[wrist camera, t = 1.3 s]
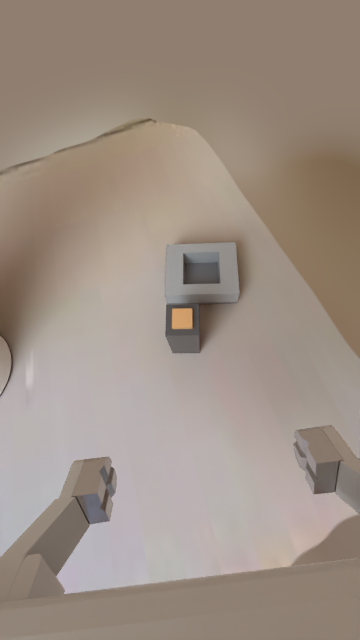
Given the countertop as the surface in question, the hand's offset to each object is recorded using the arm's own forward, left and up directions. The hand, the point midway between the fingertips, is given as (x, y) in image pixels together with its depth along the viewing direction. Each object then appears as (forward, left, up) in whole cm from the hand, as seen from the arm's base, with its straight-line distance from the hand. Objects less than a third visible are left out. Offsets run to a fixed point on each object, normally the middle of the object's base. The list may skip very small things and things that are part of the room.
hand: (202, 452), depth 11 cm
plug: (-2, +12, -25) cm, 28 cm away
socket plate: (0, +23, -25) cm, 34 cm away
